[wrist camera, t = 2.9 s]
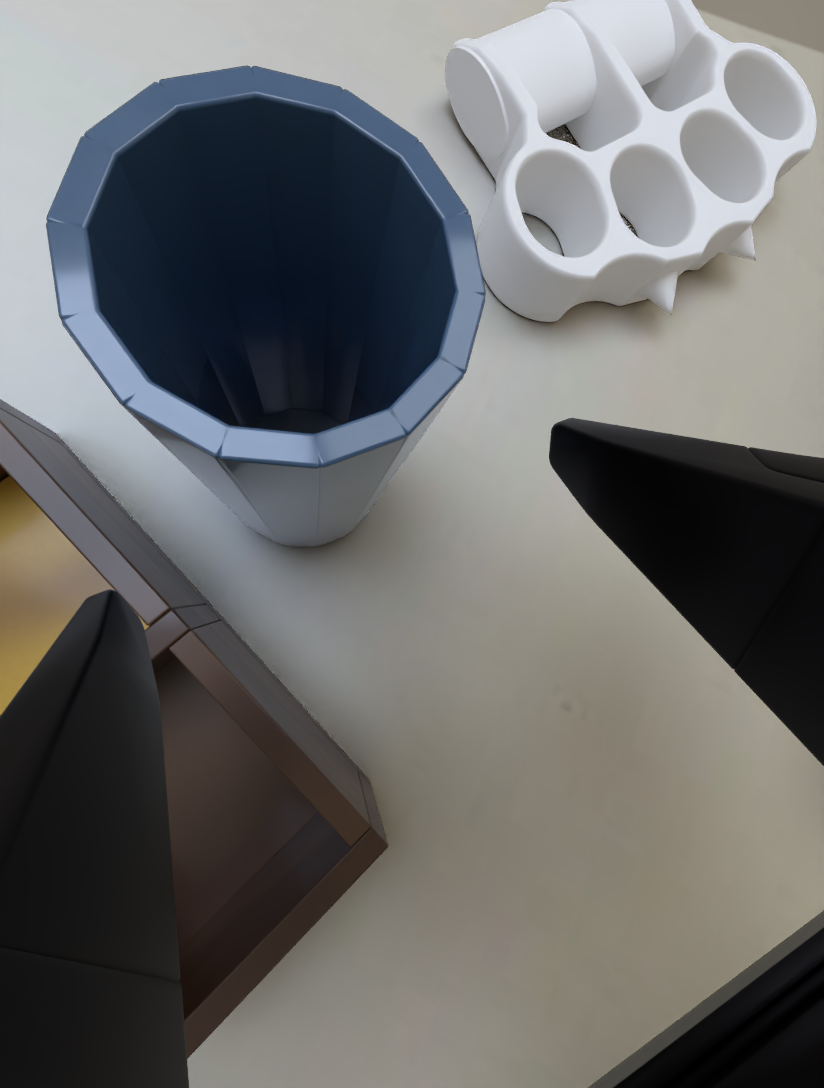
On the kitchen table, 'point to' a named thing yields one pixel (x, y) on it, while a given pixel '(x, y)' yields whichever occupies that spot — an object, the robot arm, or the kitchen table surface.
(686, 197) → the knuckle duster
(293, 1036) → the kitchen table surface
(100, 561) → the caddy
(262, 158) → the tumbler
